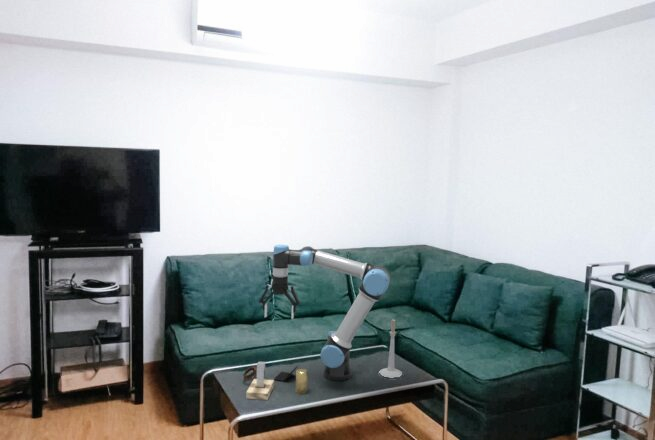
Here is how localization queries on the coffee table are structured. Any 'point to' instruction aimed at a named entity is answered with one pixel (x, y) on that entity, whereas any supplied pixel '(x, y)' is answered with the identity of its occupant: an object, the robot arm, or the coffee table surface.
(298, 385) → the round brass bit
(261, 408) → the coffee table surface
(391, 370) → the candlestick
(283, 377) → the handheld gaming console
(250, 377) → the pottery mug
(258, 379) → the square steel bit
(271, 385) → the socket plate
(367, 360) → the coffee table surface
